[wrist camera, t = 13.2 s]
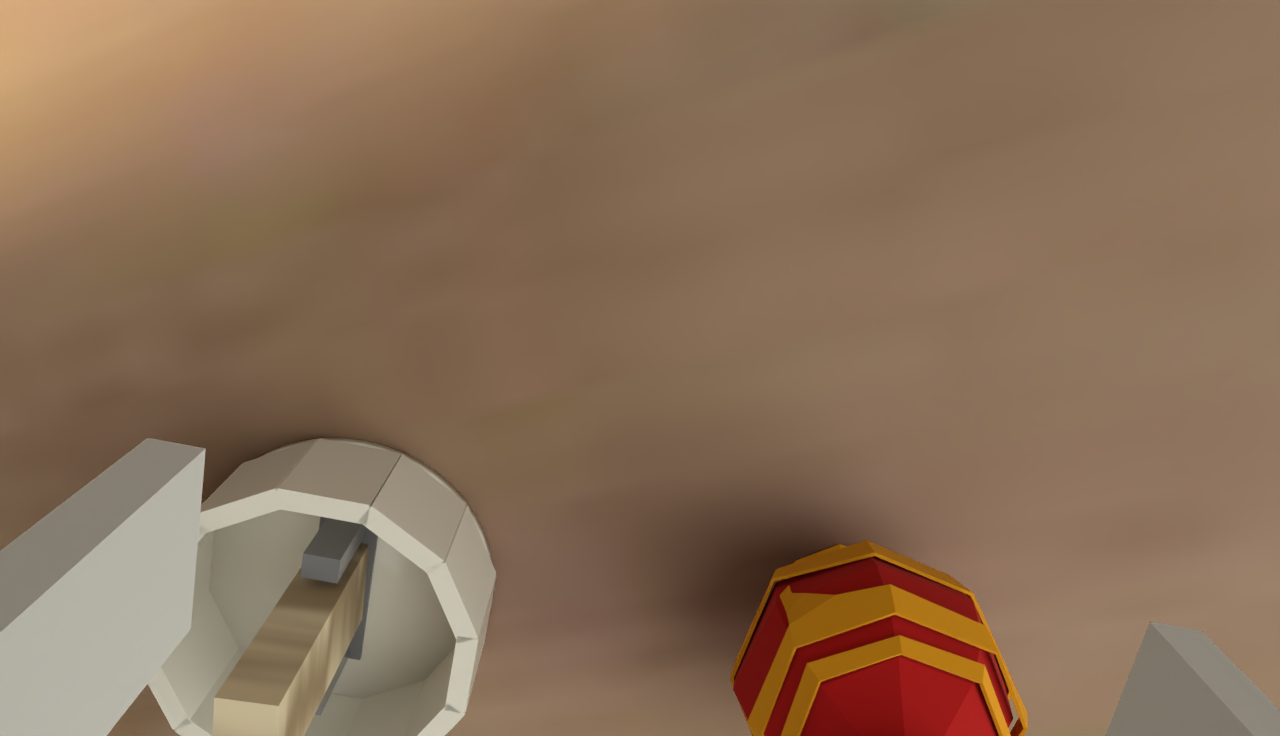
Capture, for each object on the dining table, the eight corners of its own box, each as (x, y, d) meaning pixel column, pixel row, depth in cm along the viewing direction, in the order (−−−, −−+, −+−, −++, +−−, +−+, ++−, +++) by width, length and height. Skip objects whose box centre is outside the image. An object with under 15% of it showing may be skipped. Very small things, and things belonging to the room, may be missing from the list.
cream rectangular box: (320, 538, 42) (214, 697, 32) (368, 544, 42) (278, 706, 32) (315, 612, 43) (209, 790, 33) (362, 618, 43) (272, 798, 33)
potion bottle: (717, 705, 45) (753, 1003, 31) (720, 491, 42) (761, 712, 28) (952, 702, 45) (1097, 1000, 31) (972, 488, 42) (1142, 708, 28)
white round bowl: (209, 411, 41) (145, 464, 36) (515, 468, 42) (498, 528, 37) (188, 675, 45) (126, 759, 40) (470, 724, 46) (447, 812, 40)
